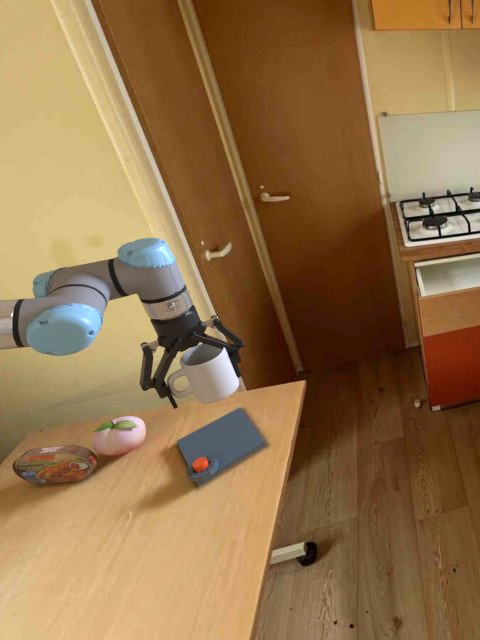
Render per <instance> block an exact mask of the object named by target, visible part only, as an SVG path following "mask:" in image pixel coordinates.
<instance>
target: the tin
mask: <svg viewBox="0 0 480 640" xmlns="http://www.w3.org/2000/svg"><path fill="white" fill-rule="evenodd" d="M98 465H99V460H98V457H97V455H96V454H95V453H94V451H92V450H91V449H90V448H88V447H86V446H82V445H79V444H78V445H77V444H67V445H56V446H55V445H54V446H43V447H34V448H30V449H29V450H27V451H25V452H24V453H23V454H22V455H20V456H19V457H18V458H16V459H15V460H13V462H12V465H11V467H12V471H13V473H14V474H15V475H16V476H17V477H18V478H19V479H21V480H24V481H26V482H28V483H31V484H35V485H46V484H56V483H57V484H58V483H69V482H78V481H83V480H85V479H87V478H89V476H90V475H91V474H92V473H93V472H94V471H95V469H97V467H98Z"/></svg>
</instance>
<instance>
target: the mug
mask: <svg viewBox="0 0 480 640" xmlns="http://www.w3.org/2000/svg"><path fill="white" fill-rule="evenodd" d="M179 364H180V367H181V368H179V369H177V370H175V371H173V372H172V373H170V374H169V376H168V377H167V380H166V384H167V386H168V388H169V390H170V392H171V394H172V396H173V397H174V398H178V399H183V398H186V397H188V396H191V395H193V394H194V396H195V399H196V400H197V401H198V402H199V403H201V404H215V403H219V402H221V401H224V400H225V399H227V398H229V397H230V396H232V395H233V394H234V393H235V392H236V391H237V390H238V388H239V386H240V380H239V378H238V377H237V375H236V372H235V370H234V368H233V365H232V363H231V360H230V358H229V355H228V353H227V351H226V349H225V348H223V350H222V349H219V348H217V347H214V346H211V345H208V344H207V345H206V344H203V343H199V344H198V345H197V346H195V347H191V348H188V349H187V350H186V351H184V352H183V354H181V357H180V359H179ZM182 377H185V378H186V380H187V381H188V384H189V385H188V387H187V388H185V389H183V390H178V389H176V387H175V386H174V383H175V381H176V380H177V379H179V378H182Z"/></svg>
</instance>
